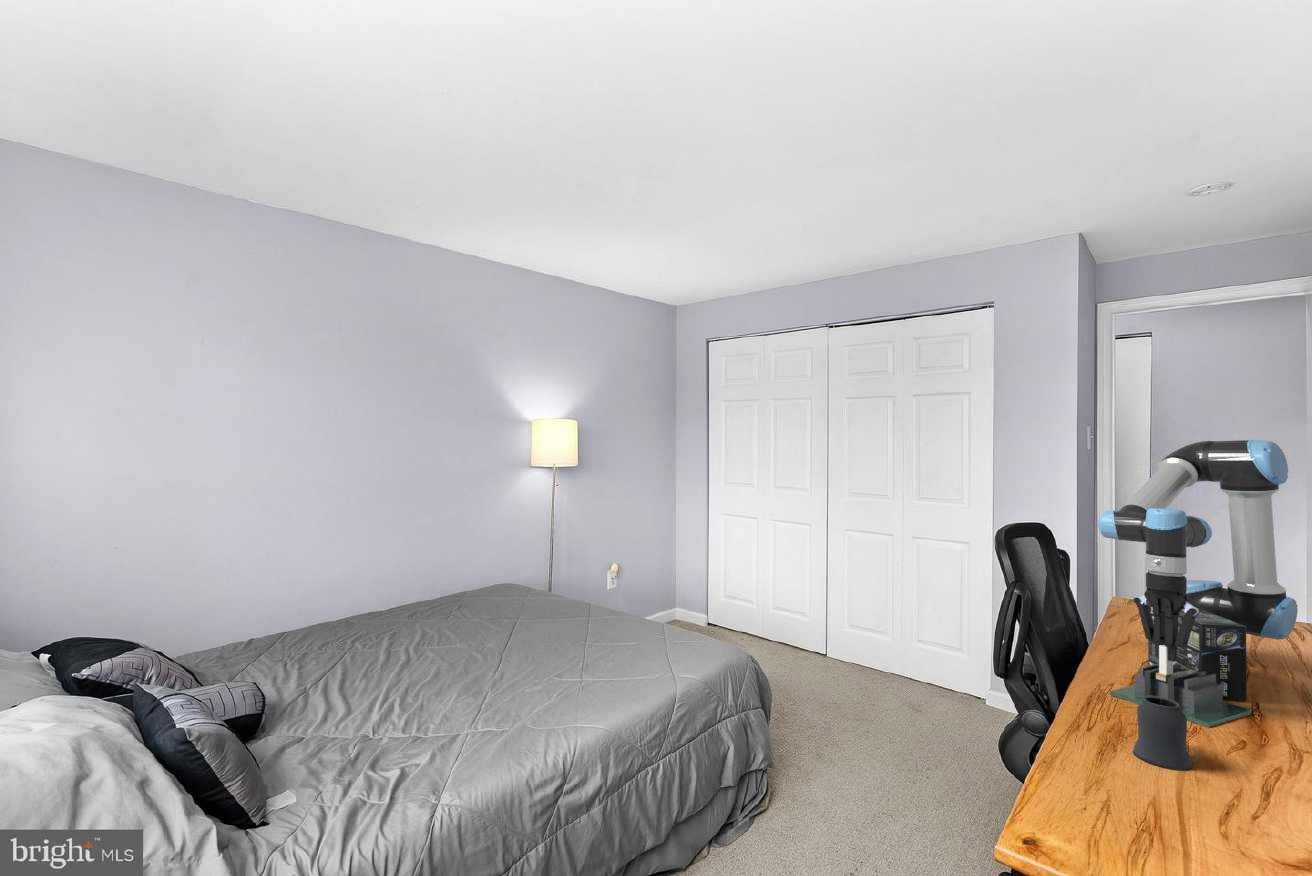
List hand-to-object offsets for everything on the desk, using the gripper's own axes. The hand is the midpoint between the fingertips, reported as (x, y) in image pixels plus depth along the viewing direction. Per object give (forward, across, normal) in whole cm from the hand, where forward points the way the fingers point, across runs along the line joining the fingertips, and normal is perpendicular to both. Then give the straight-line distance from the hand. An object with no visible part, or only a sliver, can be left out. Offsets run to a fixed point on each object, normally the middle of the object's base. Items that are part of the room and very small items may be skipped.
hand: (1166, 673), depth 146 cm
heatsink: (+8, 0, +5) cm, 9 cm away
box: (+8, -6, +25) cm, 27 cm away
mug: (+9, +14, -29) cm, 33 cm away
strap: (+2, 0, +6) cm, 6 cm away
